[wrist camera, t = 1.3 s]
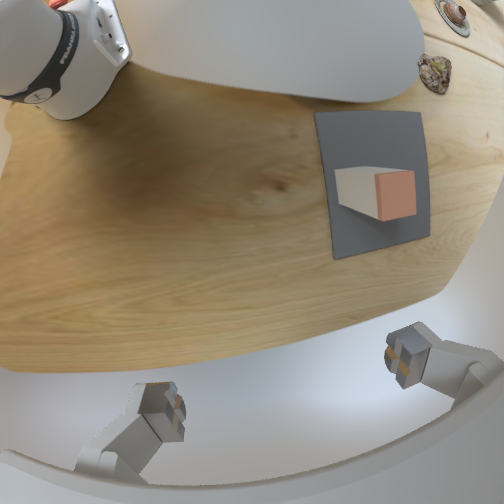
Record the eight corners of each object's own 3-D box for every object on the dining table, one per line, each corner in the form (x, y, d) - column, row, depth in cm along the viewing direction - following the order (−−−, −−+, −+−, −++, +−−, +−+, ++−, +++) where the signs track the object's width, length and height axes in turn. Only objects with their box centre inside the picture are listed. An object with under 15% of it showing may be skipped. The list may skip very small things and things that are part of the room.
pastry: (423, -10, 25) (435, -16, 21) (452, -1, 25) (463, -6, 21) (447, 33, 29) (460, 28, 25) (473, 39, 29) (486, 36, 25)
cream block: (334, 169, 36) (379, 174, 25) (364, 166, 36) (414, 170, 25) (338, 203, 38) (382, 221, 26) (367, 198, 38) (416, 214, 27)
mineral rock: (441, 102, 32) (426, 62, 28) (423, 100, 36) (407, 62, 32) (462, 81, 31) (449, 45, 27) (446, 79, 35) (432, 45, 31)
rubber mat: (313, 113, 34) (314, 112, 33) (418, 112, 35) (420, 112, 34) (333, 258, 41) (334, 259, 41) (427, 234, 42) (429, 235, 41)
